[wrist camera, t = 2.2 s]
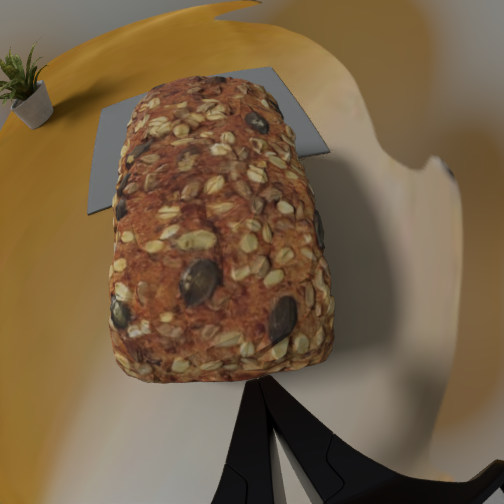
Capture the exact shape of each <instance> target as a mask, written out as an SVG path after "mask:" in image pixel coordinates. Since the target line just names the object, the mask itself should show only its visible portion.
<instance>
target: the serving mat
mask: <svg viewBox="0 0 504 504" xmlns="http://www.w3.org/2000/svg"><path fill="white" fill-rule="evenodd" d="M215 76H221V77H226V78H228V77H232V78H237V79H244V80H247V81H249V82H252V83H254V84H258V85H261V86H264V88H265V90H266V91H267V92H269V93H270V94H272V95H273V97H274V98H275V100H276V101H277V103H278V105H279V108H280V111H281V112H282V114H283V116H284V122H285V123H286V124H287V125H288V126H290V127H291V128H292V129H293V131H294V133H295V135H296V140H295V146H296V152H297V154H298V158H300V157H305V156H311V155H317V154H323V153H329V149H328V148H327V146H326V145H325V143H324V141H323V140H322V138H321V137H320V135H319V133H318V132H317V130H316V129H315V127H314V126H313V124H312V123H311V121H310V120H309V118H308V117H307V115H306V114H305V112H304V111H303V110H302V108H301V107H300V105H299V104H298V102H297V101H296V100H295V98H294V97H293V95H292V94H291V93H290V91H289V90H288V89H287V87H286V86H285V85H284V83H283V82H282V81H281V79H280V78H279V77H278V75H277V74H276V73H275V72H274V70H273V69H272V68H271V67H263V68H255V69H247V70H241V71H234V72H228V73H223V74H217V75H212V76H207V77H215ZM147 93H148V92H147ZM147 93H144V94H141V95H138V96H135V97H132V98H129V99H127V100H124V101H121V102H119V103H116V104H113V105H111V106H108V107H106V108H104V109H102V111H101V116H100V120H99V125H98V130H97V135H96V141H95V147H94V153H93V160H92V167H91V176H90V185H89V196H88V209H87V214H88V215H91V214H93V213H96V212H99V211H102V210H104V209H107V208H110V207H112V203H113V197H114V196H115V194H116V192H117V190H116V188H115V187H116V184H117V182H118V179H119V176H118V165H119V160H120V159H121V149H122V148H123V146H124V141H125V140H126V134H127V124H128V123H129V122H130V120H131V115H132V112H133V110H134V108H135V107H136V105H137V104H138V103H139V101H140V100H141V99H142V98H144V97H145V96H146V95H147Z"/></svg>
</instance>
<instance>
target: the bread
mask: <svg viewBox="0 0 504 504" xmlns="http://www.w3.org/2000/svg"><path fill="white" fill-rule="evenodd" d="M295 140H296V135H295V133H294V131H293V129H292V128H291V127H290V126H288V125H287V124H286V123H285V122H284V116H283V114H282V112H281V111H280V108H279V105H278V103H277V101H276V100H275V98H274V97H273V95H272V94H270V93H269V92H267V91H266V90H265V88H264V86H261V85H258V84H254V83H252V82H249V81H247V80H244V79H237V78H232V77H228V78H226V77H221V76H215V77H205V76H192V77H186V78H182V79H178V80H175V81H173V82H170V83H166V84H162V85H159V86H156V87H154V88H153V89H152V90H151V91H149V92H148V93H147V95H146V96H145V97H144V98H142V99H141V100H140V101H139V103H138V104H137V105H136V107H135V108H134V110H133V112H132V115H131V120H130V122H129V123H128V124H127V134H126V140H125V141H124V146H123V148H122V149H121V159H120V160H119V165H118V176H119V179H118V182H117V184H116V187H115V188H116V190H117V192H116V194H115V196H114V197H113V203H112V208H113V211H114V215H115V217H114V218H113V224H114V232H115V240H114V258H113V262H112V264H111V266H110V272H109V297H110V300H111V307H110V310H111V313H110V317H109V321H108V323H109V328H110V334H111V339H112V345H113V351H114V356H115V358H116V362H117V363H118V365H119V367H120V368H121V369H122V370H123V371H124V372H125V373H126V374H127V375H128V376H131V377H134V378H137V379H139V380H141V381H143V382H147V383H151V382H153V383H163V384H165V383H186V382H200V381H201V382H234V381H243V380H248V379H253V378H258V377H261V376H264V375H268V374H271V373H276V372H284V371H293V370H299V369H301V368H303V367H307V366H311V365H315V364H319V363H321V362H324V361H326V359H327V357H328V356H329V354H330V353H331V351H332V348H333V341H334V327H333V325H334V308H335V301H334V297H333V296H332V295H330V291H331V273H330V270H329V266H328V264H327V261H326V259H325V257H324V256H323V252H324V249H325V246H324V243H323V239H324V230H323V226H322V222H321V218H320V215H319V213H318V211H317V210H316V209H315V200H314V192H313V189H312V188H311V186H310V185H309V181H308V179H307V178H306V176H305V169H304V167H303V166H302V165H301V164H300V162H299V160H298V154H297V152H296V146H295Z"/></svg>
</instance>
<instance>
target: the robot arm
mask: <svg viewBox="0 0 504 504" xmlns="http://www.w3.org/2000/svg"><path fill="white" fill-rule="evenodd" d="M273 428H274V429H273ZM274 431H275V432H274ZM275 433H276V435H277V438H278V440H279V442H280V444H281V446H282V448H283V450H284V452H285V454H286V456H287V458H288V460H289V462H290V464H291V465H292V467H293V469H294V471H295V473H296V475H297V477H298V479H299V481H300V483H301V484H302V486H303V488H304V490H305V492H306V494H307V495H308V497H309V499H310V501H311V503H312V504H504V461H503V460H498V459H497V460H495V461H493V462H492V463H490V464H489V465H488V466H487V467H486V468H484V469H483V470H482V471H481V472H479V473H478V474H477V475H476V476H474V477H473V478H472V479H470V480H469V481H467V482H444V481H434V480H425V479H417V478H411V477H408V476H405V475H402V474H399V473H397V472H395V471H393V470H391V469H389V468H387V467H385V466H383V465H381V464H379V463H378V462H376V461H374V460H372V459H370V458H368V457H367V456H365V455H363V454H362V453H360V452H359V451H357V450H355V449H354V448H352V447H351V446H350V445H348V444H347V443H346V442H344V441H343V440H342V439H341V438H339V437H338V436H337V435H336V434H333V432H332V431H331V430H330V429H329V428H327V427H326V426H325V425H324V424H323V423H322V422H321V421H319V420H318V419H317V418H316V417H315V416H314V415H313V414H311V413H310V412H309V411H308V410H307V409H306V408H305V407H304V406H303V405H302V404H300V403H299V402H298V401H297V400H296V399H295V398H294V397H293V396H292V395H291V394H290V393H289V392H288V391H286V390H285V389H284V388H283V387H282V386H281V385H280V384H279V383H278V382H277V381H276V380H275V379H274V378H273V377H272V376H271V375H266V376H263V377H260V378H259V380H258V379H257V378H255V379H252V380H248V381H246V383H245V387H244V391H243V395H242V399H241V403H240V407H239V411H238V415H237V419H236V423H235V427H234V431H233V435H232V439H231V443H230V446H229V450H228V454H227V458H226V462H225V463H226V464H225V465H224V469H223V472H222V476H221V479H220V482H219V485H218V488H217V490H216V493H215V495H214V497H213V500H212V502H211V504H287V503H286V497H285V491H284V485H283V479H282V473H281V467H280V461H279V455H278V449H277V443H276V437H275Z"/></svg>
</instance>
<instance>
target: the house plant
mask: <svg viewBox="0 0 504 504" xmlns="http://www.w3.org/2000/svg"><path fill="white" fill-rule="evenodd" d="M34 46H35V45H34ZM34 46H33V47H32V49H31V53H30V55H29V57H28V61H27V69H26V71H27V72H26V79H25V74H24V70H23V66H22V62H21V59H20V57H19V56H18V55H17V54H15V56H16V58H15V57H14V56H13V55H11V50H10V51H9V58H8V54H7V56H6V58H5V60H6V64H5V63H4V62H3V61H2V60H0V66H1V69H2V70H3V72H4V73H5V74H6V75H7V76H8V77H9V78H10V80H11V81H9V82H5V81H0V87H2V88H1V89H0V92H1V91H2V90H3V89H5V88H6V89H8V90H11V91H12V92H11V93H7V94H8V95H6V94H3V95H5V96H3V95H1V96H0V97H1V98H0V99H4V100H3V106H4V104H5V102H6V100H7V99H11V101H12V99H16V100H15V101H14V103H13V104H12V106H11V110H12V111H13V112H14V113H15V114H16V115H17V116H18V117H19V118H20V119H21V120H22V121H23V122H24V123H25V124H27V125H28V126H29V127H30V128H31V129H36V128H38V127H39V126H41V125H42V124H43V123H44V122H46V121H47V120H48V118H49V117H50V116H51V115H52V113H53V107H52V104H51V101H50V99H49V96H48V93H47V90H46V86H45V83H44V81H43V80H41V81H38V82H37V77H38V75H39V73H40V71H41V70H42V69H43V68H44V67H45V66H48V65H45V66H44V67H43V68H42V69H40V70H39V72H38V73H37V75H36V77H35V80H34V76H35V71H36V69H37V66H35V67H34V68H33V66H34V64H35V63H36V61H37V60H36V61H35V62H34V63H33V65H32V67H31V70H30V73H29V69H30V62H31V55H32V52H33V49H34ZM13 63H14V64H13ZM14 65H15V67H14ZM32 68H33V69H32ZM28 79H29V84H28ZM33 80H34V84H33ZM2 84H4V85H2ZM29 85H30V86H29ZM10 87H12V88H10ZM13 88H14V89H13ZM2 96H3V97H6V98H3V97H2ZM15 97H17V98H15Z"/></svg>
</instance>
